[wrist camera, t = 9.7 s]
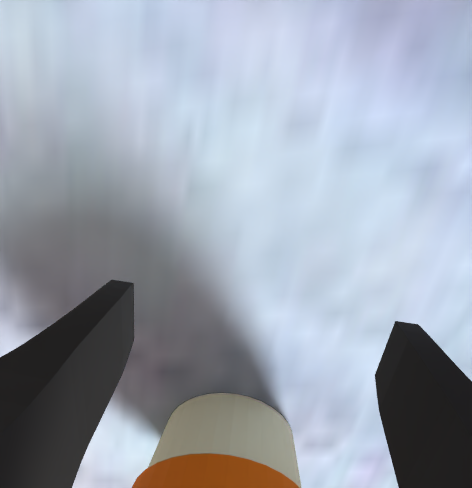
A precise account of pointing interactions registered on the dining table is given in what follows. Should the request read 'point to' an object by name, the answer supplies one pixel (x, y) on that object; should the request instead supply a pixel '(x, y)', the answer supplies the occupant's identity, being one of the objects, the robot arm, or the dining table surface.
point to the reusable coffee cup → (223, 446)
